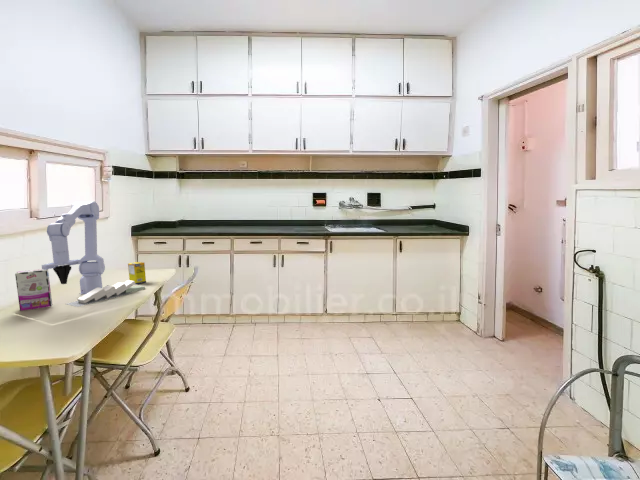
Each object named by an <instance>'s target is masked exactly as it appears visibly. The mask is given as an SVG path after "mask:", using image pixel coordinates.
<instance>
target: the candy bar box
mask: <svg viewBox="0 0 640 480" xmlns="http://www.w3.org/2000/svg"><path fill="white" fill-rule="evenodd" d="M14 276H15V283H16V289H17V291H16V292H17V299H18V305H19V311H20V312H21V311H28V310H36V309H42V308H45V309H46V308H50V307H52V306H53V299H52V292H51V291H52V290H51V284H50V283H51V282H50V273H49V269H47V270H42V268H41V269H40V268H39V269H31V270H22V271H16V272H15V274H14Z"/></svg>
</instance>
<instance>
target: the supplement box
mask: <svg viewBox="0 0 640 480" xmlns="http://www.w3.org/2000/svg"><path fill="white" fill-rule="evenodd" d="M145 266H146V265H145V262H143V261H135V262H129V263H127V267H128V268H127V269H128V278H129V279H128V280H130V281H134V282H135V284H134V285H140V284H146V283H147V276H146V267H145Z"/></svg>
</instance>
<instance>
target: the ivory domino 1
mask: <svg viewBox="0 0 640 480" xmlns="http://www.w3.org/2000/svg"><path fill="white" fill-rule="evenodd" d="M103 292H105V290H104V287H102V288H99V287H97V288H95V289H93V290H92V291H90V292H88V293H87V294H82V295H81V296H80V297H78V298H77V299H76V301H78V302H80V303H86V302H88V301H90V300H91V299H93V298H95V297H97V296H98V295H100V294H102V293H103Z"/></svg>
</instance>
